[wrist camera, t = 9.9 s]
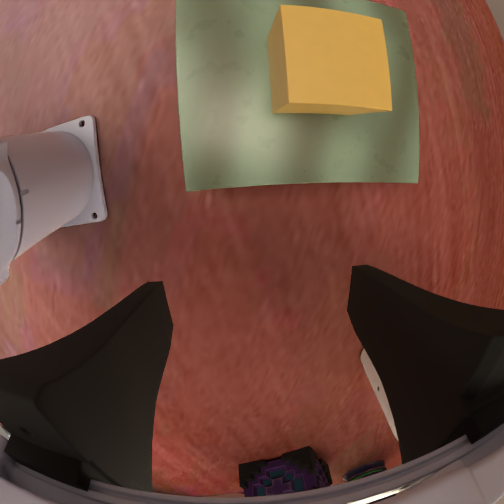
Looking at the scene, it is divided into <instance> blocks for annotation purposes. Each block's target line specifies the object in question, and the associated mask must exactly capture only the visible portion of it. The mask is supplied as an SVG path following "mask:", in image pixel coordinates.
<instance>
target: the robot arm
mask: <svg viewBox="0 0 504 504" xmlns="http://www.w3.org/2000/svg"><path fill="white" fill-rule="evenodd" d="M83 121H85V125H84V126H83V127H82V122H83ZM94 212H95V213H96V214H97V218H96V217H95V216H94ZM106 218H107V208H106V202H105V196H104V190H103V184H102V177H101V170H100V163H99V154H98V145H97V134H96V122H95V118H94V116H91V115H88V116H84V117H81V118H78V119H75V120H72V121H69V122H66V123H63V124H60V125H57V126H55V127H52V128H49V129H47V130H44V131H42V132H39V133H28V134H19V135H11V136H3V137H0V285H1V284H2V283H4V282H5V281H6V280H7V279H8V278H9V266H10V263H11V262H12V261H13V260H15V259H16V258H17V257H19V256H20V255H21V254H23V253H24V252H25V251H27V250H28V249H29V248H31V247H32V246H34V245H35V244H36V243H38V242H39V241H41V240H42V239H43V238H45V237H46V236H48V235H49V234H51V233H52V232H54V231H55V230H57V229H58V228H61V227H67V226H73V225H80V224H86V223H93V222H100V221H103V220H105V219H106ZM347 312H348V314H349V317H350V320H351V323H352V325H353V328H354V330H355V332H356V334H357V336H358V338H359V340H360V342H361V344H362V345H363V347H364V349H365V351H366V353H367V355H368V356H369V358H370V360H371V362H372V364H373V366H374V368H375V370H376V371H377V374H378V376H379V378H380V380H381V383H382V386H383V388H384V391H385V394H386V397H387V400H388V403H389V406H390V409H391V413H392V416H393V420H394V424H395V428H396V432H397V436H398V441H399V447H400V452H401V459H402V465H400V466H397V467H394V468H392V469H389V470H386V471H383V472H380V473H377V474H374V475H371V476H367V477H364V478H361V479H357V480H353V481H350V482H346V483H342V484H338V485H333V486H329V487H324V488H319V489H314V490H308V491H302V492H296V493H288V494H280V495H271V496H258V497H241V498H240V497H238V498H210V497H209V498H208V497H189V496H177V495H168V494H160V493H153V488H152V437H153V424H154V415H155V406H156V400H157V395H158V390H159V387H160V383H161V379H162V376H163V372H164V368H165V365H166V361H167V357H168V354H169V350H170V346H171V339H172V331H173V322H172V318H171V315H170V311H169V307H168V303H167V298H166V294H165V290H164V286H163V281H159V282H147V283H145V284H144V285H142V286H140V287H139V288H138V289H136V290H135V291H134V292H132V293H131V294H130V295H128V296H127V297H126V298H124V299H123V300H122V301H120V302H119V303H118V304H116V305H115V306H114V307H112V308H111V309H109V310H108V311H107V312H105V313H104V314H102V315H101V316H99V317H98V318H97V319H95V320H94V321H92V322H91V323H89V324H87V325H86V326H84V327H82V328H81V329H79V330H77V331H75V332H74V333H72V334H70V335H68V336H66V337H64V338H61V339H59V340H57V341H55V342H53V343H51V344H49V345H46V346H44V347H41V348H38V349H36V350H33V351H30V352H27V353H24V354H20V355H17V356H13V357H9V358H4V359H0V423H1V424H2V425H3V426H4V427H5V428H6V429H7V430H8V431H9V432H10V433H11V436H10V438H9V441H8V440H7V439H6V438H5V437H3V436H2V435H0V504H366V503H369V502H372V501H376V500H378V499H381V498H384V497H387V496H390V495H392V494H395V493H397V492H400V491H402V490H405V489H407V488H408V489H407V491H406V492H403V493H401V494H398V495H396V496H393V497H391V498H388V499H385V500H382V501H379V502H377V503H374V504H495V503H496V502H497V501H498V500H499V499H500V498H502V497H503V496H504V310H500V309H492V308H485V307H479V306H475V305H470V304H466V303H462V302H458V301H455V300H451V299H448V298H445V297H442V296H439V295H436V294H434V293H431V292H429V291H426V290H424V289H421V288H419V287H417V286H414V285H412V284H410V283H408V282H406V281H403V280H401V279H399V278H397V277H395V276H393V275H391V274H388V273H386V272H384V271H382V270H380V269H377V268H375V267H372V266H369V265H359V266H352V275H351V284H350V292H349V300H348V307H347Z"/></svg>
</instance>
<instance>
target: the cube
mask: <svg viewBox="0 0 504 504" xmlns="http://www.w3.org/2000/svg"><path fill="white" fill-rule="evenodd" d="M267 46H268V58H269V72H270V86H271V101H272V113H317V114H339V115H357V114H366V113H375V112H385V111H392V97H391V84H390V73H389V64H388V56H387V49H386V42H385V36H384V30H383V24H382V20H381V19H377V18H373V17H369V16H364V15H360V14H355V13H350V12H344V11H338V10H332V9H325V8H317V7H307V6H295V5H280V7H279V9H278V12H277V14H276V17H275V19H274V22H273V24H272V27H271V30H270V32H269V35H268V37H267Z"/></svg>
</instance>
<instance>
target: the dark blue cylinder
mask: <svg viewBox="0 0 504 504" xmlns="http://www.w3.org/2000/svg"><path fill="white" fill-rule="evenodd" d="M383 471H386V467H385V466H384V461H374V462H370V463H367V464H364V465H362V466H359V467H357V468H355V469H353V470H351V471H349V472H348V473H346V474H345V475H344V476H343V478H344V480H345V483H346V482H350V481H353V480H357V479H361V478H364V477H367V476H371V475H374V474H377V473H380V472H383ZM393 496H396V494H392V495H390V496H387V497H384V498H381V499H378V500H376V501H372V502H369V503H366V504H374V503H377V502H379V501H382V500H385V499H388V498H391V497H393Z"/></svg>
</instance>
